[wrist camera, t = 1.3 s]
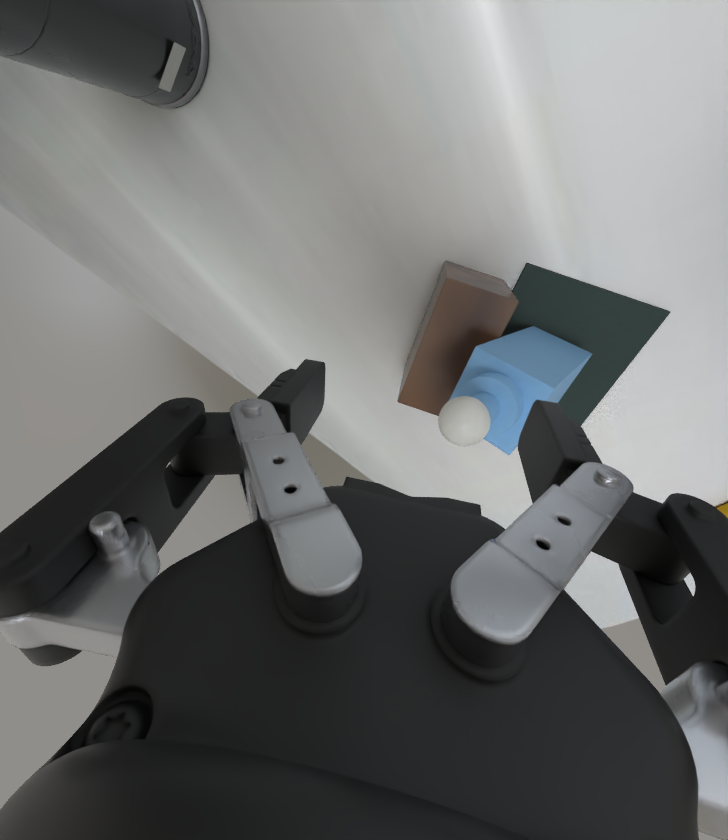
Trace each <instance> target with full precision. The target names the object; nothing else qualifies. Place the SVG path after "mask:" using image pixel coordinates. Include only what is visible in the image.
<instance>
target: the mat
mask: <svg viewBox="0 0 728 840" xmlns="http://www.w3.org/2000/svg"><path fill="white" fill-rule="evenodd" d="M512 292H513V294H514V295H515V297H516V298H517V300H518V301H519V303H518V305H517V307H516V309H515V311H514V313H513V315H512V317H511V318H510V320H509V322H508V324H507V326H506V328H505V330H504V332H503V334H502V335H501V337H503V336H506V335H509V334H512V333H515V332H517V331H520V330H523V329H526V328H529V327H531V326H535V327H537V328H539V329H541V330H543V331H545V332H547V333H550V334H552V335H554V336H556V337H558V338H560V339H562V340H564V341H567V342H569V343H571V344H573V345H575V346H577V347H579V348H581V349H583V350H586V351H588V352H590V353H592V355H591V357H590V358H589V360H588V361H587V362H586V364H585V365H584V367H583V368H582V369H581V371H580V372H579V374H578V375H577V376H576V378H575V379H574V381H573V382H572V384H571V385H570V386H569V388H568V389H567V391H566V392H565V393H564V395H563V396H562V398H561V399H560V400H559V402H558V403H559V404H560V406H561V408H562V410H563V412H564V413H565V415H566V417H567V418H570V419H572V420H573V421H574V422H576V423H577V424H578V425H579V426H581V425H582V423H583V422H584V421H585V420H586V418H587V417H588V416H589V415H590V413H591V412H592V411H593V410H594V408H595V407H596V406H597V405H598V403H599V402H600V401H601V399H602V398H603V397H604V396H605V394H606V393H607V392H608V391H609V389H610V388H611V387H612V386H613V384H614V383H615V382H616V380H617V379H618V378H619V377H620V375H621V374H622V373H623V372H624V370H625V369H626V368H627V367H628V365H629V364H630V363H631V361H632V360H633V359H634V358H635V356H636V355H637V354H638V353H639V351H640V350H641V349H642V348H643V346H644V345H645V344H646V342H647V341H648V340H649V339H650V337H651V336H652V335H653V334H654V332H655V331H656V330H657V329H658V327H659V326H660V325H661V323H662V322H663V321H664V320H665V318H666V317H667V316H668V315H669V313H670V312H669V311H667V310H664V309H661V308H658V307H655V306H652V305H649V304H646V303H643V302H640V301H637V300H635V299H632V298H629V297H626V296H623V295H620V294H617V293H614V292H611V291H608V290H605V289H602V288H599V287H596V286H593V285H590V284H587V283H585V282H582V281H579V280H576V279H573V278H570V277H567V276H564V275H561V274H558V273H555V272H552V271H549V270H546V269H543V268H540V267H537V266H535V265H532V264H529V263H526V265H525V267H524V269H523V271H522V273H521V275H520V277H519V279H518V281H517V283H516V285H515V287H514V289H513V291H512ZM501 337H500V338H501Z"/></svg>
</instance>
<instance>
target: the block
mask: <svg viewBox="0 0 728 840" xmlns="http://www.w3.org/2000/svg"><path fill="white" fill-rule="evenodd" d="M518 303H519V301H518V300H517V298H516V297H515V295H514V294H513V292H512V291H511V290H510V288H509V287H508V285H507V284H506V283H505V281H504V280H501V279H498V278H496V277H493V276H490V275H487V274H484V273H481V272H478V271H475V270H472V269H469V268H466V267H463V266H460V265H457V264H454V263H451V262H448V261H445V263H444V266H443V268H442V271H441V274H440V276H439V279H438V281H437V284H436V287H435V289H434V292H433V295H432V297H431V300H430V302H429V305H428V308H427V310H426V313H425V315H424V318H423V321H422V323H421V326H420V329H419V331H418V334H417V336H416V339H415V342H414V344H413V347H412V350H411V352H410V355H409V357H408V360H407V363H406V365H405V368H404V373H403V377H402V382H401V387H400V392H399V397H398V402H399V403H402V404H405V405H408V406H411V407H414V408H417V409H420V410H423V411H426V412H429V413H431V414H434V415H437V416H439V414H440V411H441V409H442V407H443V406H444V405H445V404H446V403H447V402H448V401H449V400H450V398H451V396H452V394H453V391H454V389H455V387H456V385H457V383H458V381H459V379H460V377H461V375H462V373H463V371H464V369H465V367H466V365H467V363H468V361H469V359H470V357H471V355H472V353H473V351H474V349H475V347H476V346H478V345H481V344H484V343H487V342H489V341H492V340H495V339H498V338H500V337H501V335H502V334H503V332H504V330H505V328H506V326H507V324H508V322H509V320H510V318H511V317H512V315H513V313H514V311H515V309H516V307H517V305H518Z"/></svg>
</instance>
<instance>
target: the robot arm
mask: <svg viewBox="0 0 728 840" xmlns="http://www.w3.org/2000/svg"><path fill="white" fill-rule="evenodd" d="M0 56H2V57H5V58H8V59H12V60H15V61H18V62H21V63H25V64H28V65H31V66H34V67H37V68H41V69H44V70H47V71H50V72H54V73H57V74H60V75H63V76H67V77H70V78H73V79H76V80H80V81H83V82H86V83H89V84H93V85H96V86H99V87H102V88H106V89H109V90H112V91H115V92H119V93H122V94H124V95H128V96H131V97H134V98H138V99H141V100H143V101H145V102H147V103H149V104H152V105H155V106H159V107H163V108H176V107H179V106H182V105H184V104H186V103H187V102H189V101H190V100H191V99H192V98H193V97H194V96H195V94H196V93H197V92H198V90H199V88H200V86H201V84H202V82H203V79H204V76H205V73H206V68H207V61H208V36H207V29H206V23H205V18H204V15H203V11H202V8H201V5H200V2H199V0H0ZM324 394H325V363H324V362H319V361H314V360H308V359H305V360H304V361H303V362H302V364H301V365H300V366H299V367H298V368H297V369H296V370H295V369H289V370H287V371H285V372H283V373H281V374H280V375H279V376H278V377H277V378H276V379H275V381H273V382H272V383H271V384H270V386H268V387H267V388H266V389H265V390H264V391H263V392H262V394H261V395H260V396H259V397H258V398H257V399H246V400H241V401H239V402H237V403H235V404H233V405H232V407H231V408H230V412H226V413H225V412H223V413H222V412H221V413H220V412H217V413H216V412H212V413H211V412H209V413H208V412H205V408H204V404H203V402H201V401H200V400H198V399H195V398H176V399H172V400H169V401H166V402H164V403H162V404H161V405H159V406H158V407H157V408H156V409H154V410H153V411H152V412H151V413H149V414H148V415H147V416H146V417H144V418H143V419H142V420H141V421H139V422H138V423H137V424H136V425H134V426H133V427H132V428H131V429H129V430H128V431H127V432H126V433H124V434H123V435H122V436H121V437H119V438H118V439H117V440H116V441H114V442H113V443H112V444H111V445H109V446H108V447H107V448H106V449H104V450H103V451H102V452H101V453H99V454H98V455H97V456H96V457H94V458H93V459H92V460H91V461H89V462H88V463H87V464H86V465H85V466H83V467H82V468H81V469H79V470H78V471H77V472H76V473H74V474H73V475H72V476H71V477H69V478H68V479H67V480H66V481H64V482H63V483H62V484H60V485H59V486H58V487H57V488H56V489H54V490H53V491H52V492H50V493H49V494H48V495H47V496H45V497H44V498H43V499H42V500H41V501H39V502H38V503H37V504H36V505H34V506H33V507H32V508H30V509H29V510H28V511H27V512H25V513H24V514H23V515H22V516H20V517H19V518H18V519H17V520H16V521H14V522H13V523H12V524H10V525H9V526H8V527H7V528H5V529H4V530H3V531H2V532H1V533H0V632H1V634H2V635H3V636H4V637H5V638H6V639H7V640H8V641H9V642H10V643H11V644H12V645H13V646H15V647H18V648H19V649H20V650H21V651H22V652H23V653H24V654H25V656H27V658H28V659H29V660H30V661H31V662H32V663H34V664H36V665H40V666H51V665H55V664H59V663H62V662H64V661H67V660H68V659H71V658H72V657H74V656H76V655H77V654H78V653H80V652H81V651H82V650H83V651H88V652H92V653H97V654H102V655H106V656H111V657H116V658H117V660H116V663H115V666H114V669H113V671H112V674H111V677H110V679H109V681H108V683H107V686H106V688H105V690H104V692H103V694H102V696H101V698H100V700H99V702H98V703H97V705H96V707H95V708H94V710H93V711H92V713H91V714H90V715H89V717H88V718H87V720H86V721H85V722H84V723H83V724H82V725H81V727H80V728H79V729H78V730H77V731H76V732H75V733H74V734H73V736H72V737H71V738H70V739H69V740H68V741H67V742H66V743H65V744H64V745H63V746H62V747H61V749H59V750H58V751H57V753H56V754H55V755H53V756H52V757H51V759H49V761H47V762H46V763H45V764H44V765H43V766H42V767H41V768H40V769H39V770H38V771H36V772H35V773H34V774H33V775H32V776H31V777H30V778H29V779H28V780H27V781H26V782H25V783H24V784H23V785H22V786H21V787H20V788H19V789H18V790H17V791H16V792H15V793H14V794H13V795H12V796H11V797H10V798H9V800H8V801H7V802H6V804H5V805H4V806H3V807H2V808H1V810H0V840H699V838H698V831H700V832H702V833H705V834H708V835H711V836H713V837H716V838H719V839H721V840H728V518H727V517H726V516H725V515H724V514H723V513H722V512H721V511H719V510H718V509H717V508H715V507H714V506H712V505H710V504H709V503H707V502H705V501H703V500H701V499H698V498H696V497H693V496H690V495H686V494H679V493H676V494H671V495H670V496H669V497H668V498H667V499H666V500H665V502H664V503H663V504H662V503H659V502H657V501H654V500H651V499H649V498H646V497H643V496H641V495H638V494H636V493H634V492H633V484H632V483H631V481H630V480H629V479H628V478H627V477H626V476H625V475H624V474H622V473H621V472H619V471H618V470H616V469H614V468H612V467H610V466H607V465H604V464H602V462H601V460H600V458H599V457H598V455H597V453H596V452H595V450H594V448H593V446H591V443H590V441H589V439H588V438H587V436H586V434H585V432H584V431H583V429H582V427H580V426H579V425H578V424H577V423H576V422H574V421H573V420H572V419H570V418H567V417H566V415H565V413H564V412H563V410H562V408H561V406H560V404H559V403H555V402H549V401H543V400H535V401H534V403H533V405H532V407H531V409H530V412H529V414H528V416H527V419H526V421H525V424H524V426H523V429H522V431H521V434H520V437H519V441H518V451H519V455H520V458H521V462H522V466H523V469H524V473H525V477H526V480H527V484H528V488H529V491H530V495H531V499H532V502H533V504H532V505H531V506H530V507H529V508H528V509H527V510H526V511H525V512H524V513H523V514H522V515H520V516H519V517H518V518H517V519H516V520H515V521H514V522H513V523H512V524H511V525H510V526H509V527H508V528H507V529H504V528H503V527H502V526H500V525H498V524H497V523H495V522H494V521H492V520H490V519H488V518H486V517H484V516H481V508H480V505H478V504H474V503H469V502H464V501H459V500H455V499H450V498H437V497H411V496H408V495H405V494H403V493H400V492H398V491H395V490H393V489H391V488H388V487H386V486H383V485H381V484H378V483H374V482H369V481H364V480H359V479H355V478H350V477H346V480H345V482H344V485H343V486H330V487H325V488H323V487H322V486H321V483H320V481H319V479H318V477H317V475H316V473H315V472H314V470H313V468H312V466H311V464H310V462H309V460H308V458H307V456H306V454H305V452H304V450H303V449H302V447H301V445H302V442H303V441H304V440H305V438H306V436H307V435H308V433H309V431H310V430H311V428H312V426H313V424H314V423H315V421H316V419H317V418H318V416H319V414H320V413H321V411H322V408H323V404H324ZM169 462H171V464H170V465H169V466H168V467H167V468H166V466H167V464H168V463H169ZM226 474H238V475H239V480H240V484H241V488H242V492H243V495H244V499H245V503H246V507H247V510H248V515H249V519H250V524H248V525H246V526H244V527H242V528H241V529H239V530H237V531H235V532H233V533H231V534H229V535H227V536H225V537H224V538H222V539H220V540H218V541H216V542H214V543H212V544H210V545H209V546H206V547H204V548H203V549H201V550H199V551H197V552H195V553H193V554H191V555H189V556H188V557H185V558H184V559H182V560H180V561H178V562H176V563H175V564H173V565H171V566H170V567H168V568H167V569H166V570H164V571H163V572H162V573H160V574H159V575H158V573H159V570H160V559H159V556H158V552H159V550H160V549H161V548H162V546H163V545H164V543H165V542H166V541H167V540H168V538H169V537H170V536H171V534H172V533H173V532H174V530H175V529H176V527H177V526H178V525H179V523H180V522H181V521H182V519H183V518H184V517H185V515H186V514H187V513H188V511H189V510H190V508H191V507H192V506H193V505H194V503H195V502H196V500H197V499H198V498H199V496H200V495H201V494H202V492H203V491H204V490H205V488H206V487H207V485H208V484H209V483H210V482H211V480H212V479H213V478H214V476H215V475H226ZM591 551H592V552H594V553H596V554H598V555H601V556H603V557H605V558H607V559H610V560H612V561H614V562H616V563H618V564H619V567H620V570H621V573H622V575H623V578H624V580H625V583H626V585H627V588H628V590H629V593H630V596H631V598H632V601H633V603H634V606H635V608H636V611H637V613H638V616H639V619H640V621H641V624H642V626H643V629H644V631H645V634H646V636H647V639H648V641H649V644H650V647H651V649H652V652H653V654H654V657H655V659H656V662H657V664H658V667H659V669H660V672H661V674H662V677H663V680H664V682H665V685H666V686H665V687H664V688H663V690H662V692H661V694H660V693H659V692H658V690H657V689H656V688H655V687H654V686H653V685H652V684H651V683H650V681H649V680H648V679H647V678H646V677H645V676H644V675H643V674H642V673H641V672H640V671H639V669H637V667H636V666H635V665H634V664H633V663H632V662H631V661H630V660H629V659H628V658H627V657H626V656H625V655H624V653H623V652H622V651H621V650H620V649H619V648H618V647H617V646H616V645H615V644H614V643H613V642H612V641H611V640H610V639H609V637H608V636H607V635H606V634H605V633H604V632H603V631H602V630H601V629H600V628H599V627H598V626H597V625H596V624H595V622H594V621H593V620H592V619H591V618H590V617H589V616H588V615H587V614H586V613H585V612H584V611H583V610H582V609H581V607H580V606H579V605H578V604H577V603H576V602H575V601H574V600H573V599H572V598H571V597H570V596H569V595H568V594H567V593H566V591H565V590H564V588H565V587H566V585H567V584H568V583H569V581H570V580H571V578H572V577H573V576H574V574H575V573H576V571H577V570H578V569H579V567H580V566H581V564H582V563H583V562H584V560H585V559H586V557H587V556H588V554H589V553H590V552H591ZM689 573H691V574H692V576H693V578H694V581H695V586H696V589H695V594H694V597H693V596H692V594H691V592H690V590H689V588H688V587H687V585H686V583H685V581H684V578H685V577H686V576H687V575H688V574H689ZM157 575H158V576H157Z"/></svg>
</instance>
